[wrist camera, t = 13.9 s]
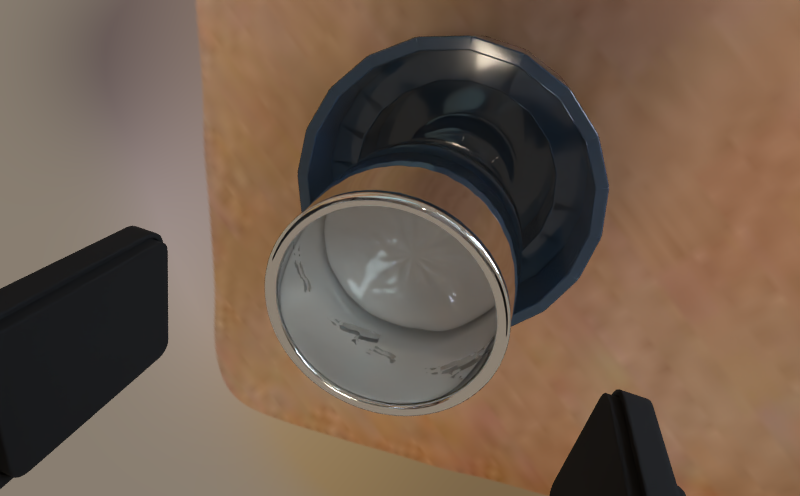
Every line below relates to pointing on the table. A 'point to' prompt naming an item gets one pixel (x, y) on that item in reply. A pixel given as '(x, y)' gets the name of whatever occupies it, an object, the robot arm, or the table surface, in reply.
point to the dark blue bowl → (506, 109)
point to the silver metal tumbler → (405, 271)
